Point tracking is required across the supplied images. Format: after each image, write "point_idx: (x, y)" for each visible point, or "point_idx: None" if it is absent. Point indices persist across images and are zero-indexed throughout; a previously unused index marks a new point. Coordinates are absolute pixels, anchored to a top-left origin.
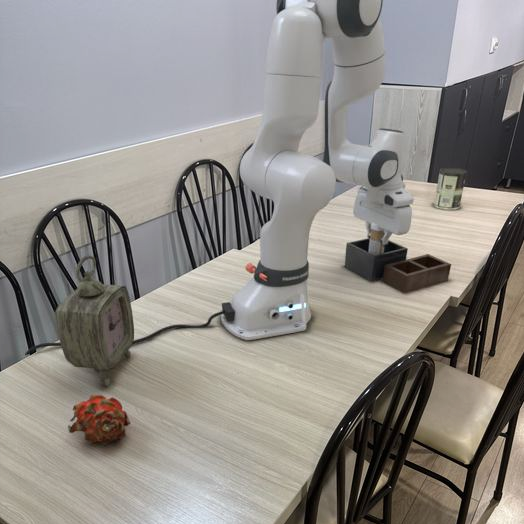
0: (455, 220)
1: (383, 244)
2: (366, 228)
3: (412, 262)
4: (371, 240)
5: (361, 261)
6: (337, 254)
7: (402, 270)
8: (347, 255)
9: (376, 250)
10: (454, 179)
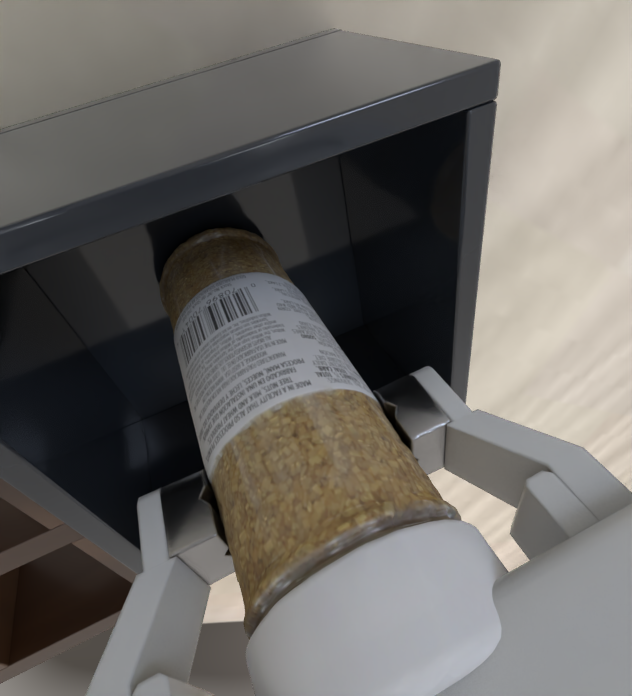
0: (497, 553)
1: (149, 493)
2: (522, 427)
3: (13, 553)
4: (285, 396)
5: (107, 139)
6: (550, 97)
7: None
8: (365, 50)
9: (192, 373)
10: None
